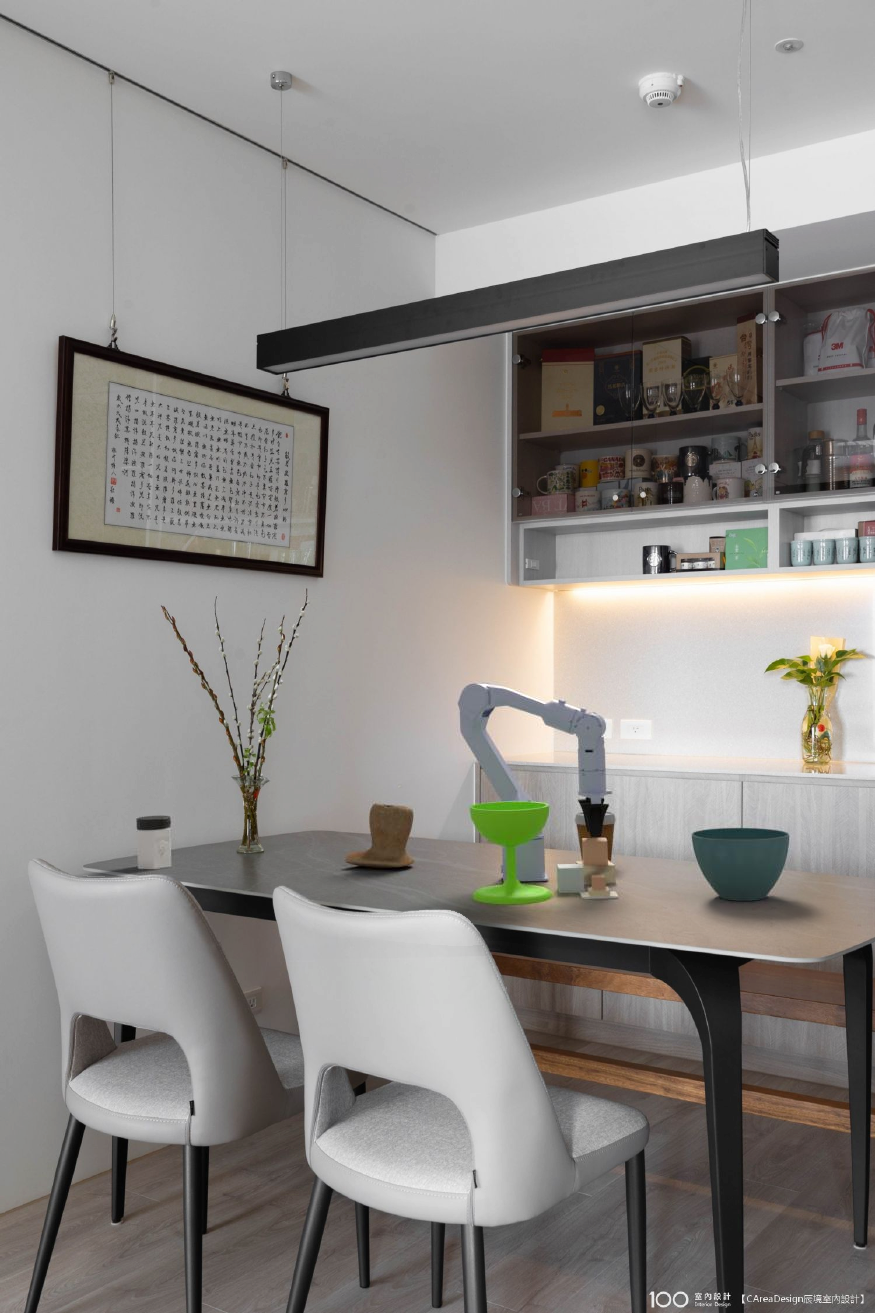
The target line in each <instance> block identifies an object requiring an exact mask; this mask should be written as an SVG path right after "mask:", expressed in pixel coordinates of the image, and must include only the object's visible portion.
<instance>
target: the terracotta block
mask: <svg viewBox="0 0 875 1313" xmlns="http://www.w3.org/2000/svg"><path fill="white" fill-rule="evenodd" d="M582 847H583V864H584V866H587V865H608V849H607V839H606V838H582Z"/></svg>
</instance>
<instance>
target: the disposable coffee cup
mask: <svg viewBox="0 0 875 1313" xmlns="http://www.w3.org/2000/svg"><path fill="white" fill-rule="evenodd" d="M573 819H574V822H575V823H574V824H576V832H577V837H578V843H579V849H580V855H581V856H580V857H581V861H583V847H582V838H606V839H607V849H608V860H609V861H610V862H611V863H612V855H613V854H612V853H613V842H614V831H615V823H616V821H617V818H616V816H615V813H614V812H613V811H612V812H611V811H606V814H605V817H604V822H603V829H602V834H601V837H591V836H590V833H589V832H587V829H586V824H585V819H584V815H583V811H579V812H576V813H575V818H573Z"/></svg>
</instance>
